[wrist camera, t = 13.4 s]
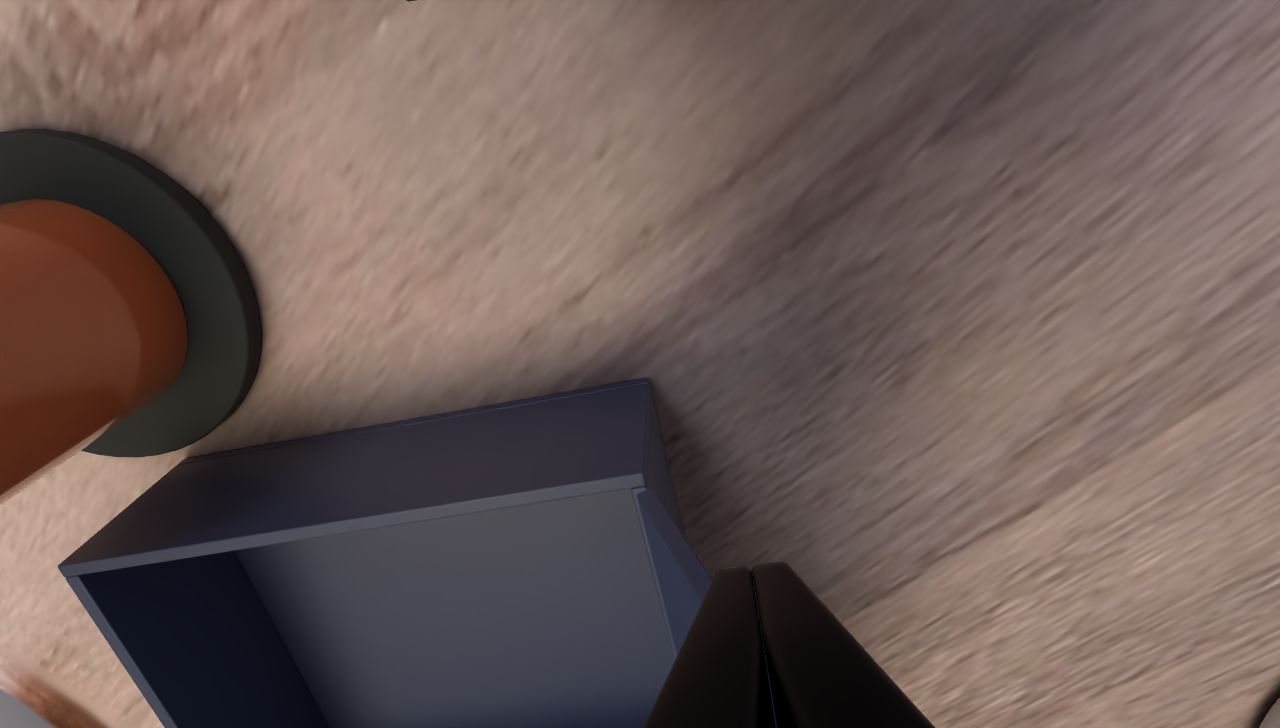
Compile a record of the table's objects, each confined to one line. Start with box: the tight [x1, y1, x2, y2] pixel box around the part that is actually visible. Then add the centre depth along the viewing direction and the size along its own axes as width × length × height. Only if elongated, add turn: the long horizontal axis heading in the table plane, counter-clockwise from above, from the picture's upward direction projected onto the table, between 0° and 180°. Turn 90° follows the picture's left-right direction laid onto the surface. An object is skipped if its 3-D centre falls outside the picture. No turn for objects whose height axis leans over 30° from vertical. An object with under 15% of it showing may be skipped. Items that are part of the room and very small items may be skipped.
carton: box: [58, 378, 686, 728], centre depth 23 cm, size 16×15×5 cm
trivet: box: [0, 129, 261, 457], centre depth 21 cm, size 10×10×1 cm
